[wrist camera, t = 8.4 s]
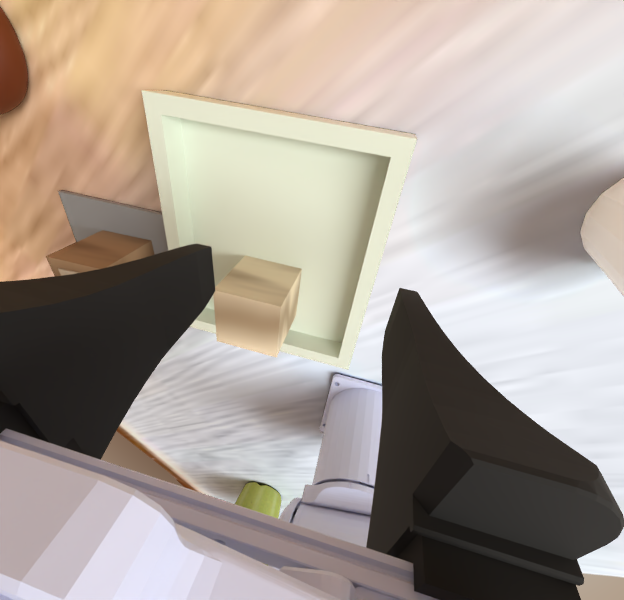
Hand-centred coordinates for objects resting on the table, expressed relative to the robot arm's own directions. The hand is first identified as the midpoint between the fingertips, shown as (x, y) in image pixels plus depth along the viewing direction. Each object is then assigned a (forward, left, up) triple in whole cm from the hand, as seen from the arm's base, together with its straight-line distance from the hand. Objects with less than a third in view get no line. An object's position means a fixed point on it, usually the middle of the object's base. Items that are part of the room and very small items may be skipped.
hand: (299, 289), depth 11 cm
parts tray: (-4, +4, -10) cm, 12 cm away
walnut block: (-8, +17, -10) cm, 21 cm away
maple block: (-7, +4, -10) cm, 13 cm away
